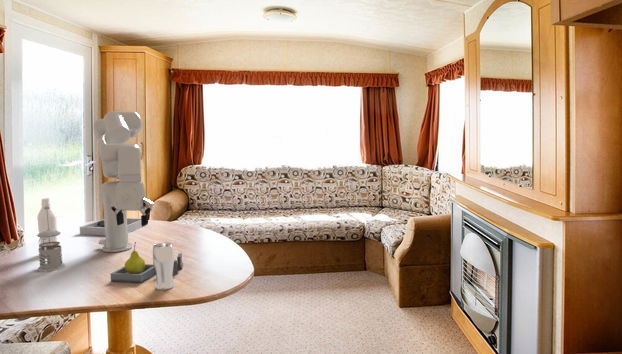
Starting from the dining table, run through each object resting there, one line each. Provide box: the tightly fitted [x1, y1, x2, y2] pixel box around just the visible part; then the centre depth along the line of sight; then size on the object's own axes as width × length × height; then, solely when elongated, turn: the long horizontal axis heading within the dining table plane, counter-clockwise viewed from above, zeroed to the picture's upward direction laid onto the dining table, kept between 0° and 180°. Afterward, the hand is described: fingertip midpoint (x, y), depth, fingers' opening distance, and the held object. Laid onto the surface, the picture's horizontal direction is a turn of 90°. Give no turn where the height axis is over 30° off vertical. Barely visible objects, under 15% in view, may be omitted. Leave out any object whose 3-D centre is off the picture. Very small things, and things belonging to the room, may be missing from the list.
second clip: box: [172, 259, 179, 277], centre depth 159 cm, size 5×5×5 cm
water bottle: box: [36, 198, 58, 250], centre depth 185 cm, size 7×7×25 cm
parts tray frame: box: [79, 217, 147, 236], centre depth 233 cm, size 24×24×4 cm
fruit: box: [124, 241, 146, 274], centre depth 156 cm, size 7×7×12 cm
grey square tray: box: [110, 263, 156, 284], centre depth 156 cm, size 12×12×3 cm
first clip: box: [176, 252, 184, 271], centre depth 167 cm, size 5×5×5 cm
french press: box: [36, 206, 66, 272], centre depth 168 cm, size 10×12×25 cm
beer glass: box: [152, 242, 175, 291], centre depth 145 cm, size 7×7×15 cm
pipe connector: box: [97, 219, 105, 227], centre depth 231 cm, size 12×5×15 cm
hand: (132, 224), depth 155 cm, fingers open, 9 cm apart
